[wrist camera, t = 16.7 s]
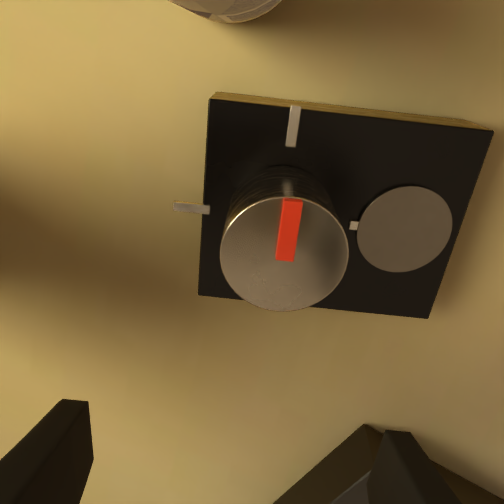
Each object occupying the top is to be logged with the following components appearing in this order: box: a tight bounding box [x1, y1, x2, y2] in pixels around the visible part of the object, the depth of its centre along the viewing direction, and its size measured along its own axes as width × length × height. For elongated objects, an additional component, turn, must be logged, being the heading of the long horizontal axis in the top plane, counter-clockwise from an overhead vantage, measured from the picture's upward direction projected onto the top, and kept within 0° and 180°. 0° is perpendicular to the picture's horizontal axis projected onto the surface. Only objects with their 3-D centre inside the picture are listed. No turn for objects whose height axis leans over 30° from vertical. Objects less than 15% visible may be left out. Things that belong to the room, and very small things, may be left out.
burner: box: [356, 185, 452, 272], centre depth 16 cm, size 4×4×1 cm
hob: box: [173, 92, 494, 319], centre depth 17 cm, size 11×8×3 cm
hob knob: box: [220, 166, 349, 311], centre depth 14 cm, size 4×4×4 cm
